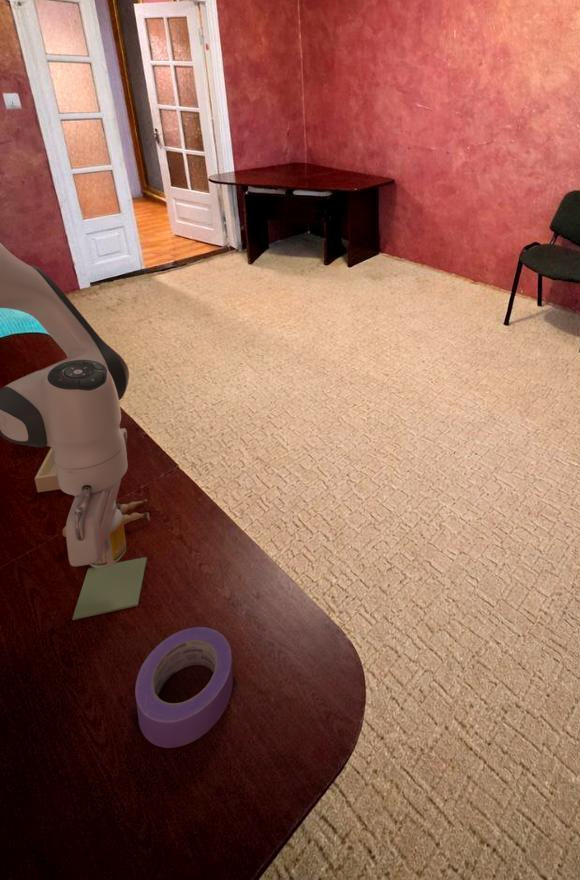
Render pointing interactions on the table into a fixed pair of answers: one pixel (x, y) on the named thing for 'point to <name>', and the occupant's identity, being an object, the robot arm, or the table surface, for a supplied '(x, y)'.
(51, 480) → the tray
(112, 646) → the table surface
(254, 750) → the table surface
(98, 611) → the mat
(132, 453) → the table surface
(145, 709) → the tape roll
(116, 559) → the supplement bottle
